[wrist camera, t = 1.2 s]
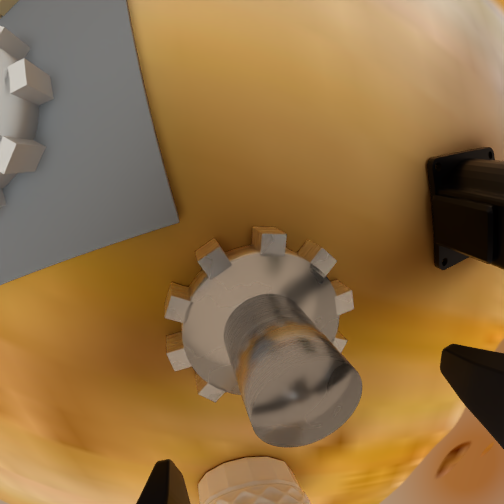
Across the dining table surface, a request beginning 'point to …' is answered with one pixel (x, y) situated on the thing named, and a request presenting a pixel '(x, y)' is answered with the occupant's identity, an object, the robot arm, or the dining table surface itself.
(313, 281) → the gear
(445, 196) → the robot arm
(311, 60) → the dining table surface
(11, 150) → the carrier plate
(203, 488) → the white cup
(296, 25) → the dining table surface
